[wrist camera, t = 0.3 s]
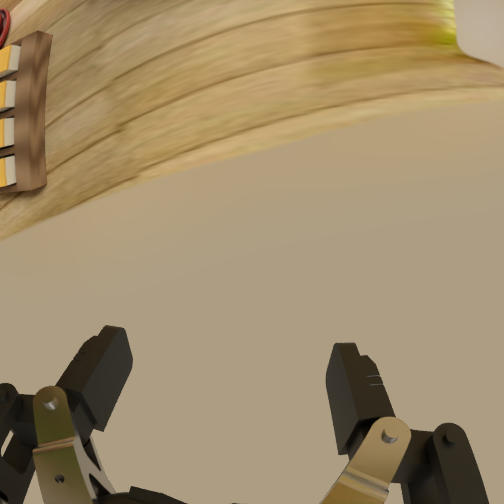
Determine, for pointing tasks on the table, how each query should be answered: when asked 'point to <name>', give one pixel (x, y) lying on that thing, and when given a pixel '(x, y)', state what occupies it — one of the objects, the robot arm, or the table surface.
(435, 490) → the robot arm
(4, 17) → the plant pot
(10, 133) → the button
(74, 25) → the table surface
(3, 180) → the button
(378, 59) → the table surface
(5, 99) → the button
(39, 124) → the board
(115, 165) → the table surface
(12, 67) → the button
